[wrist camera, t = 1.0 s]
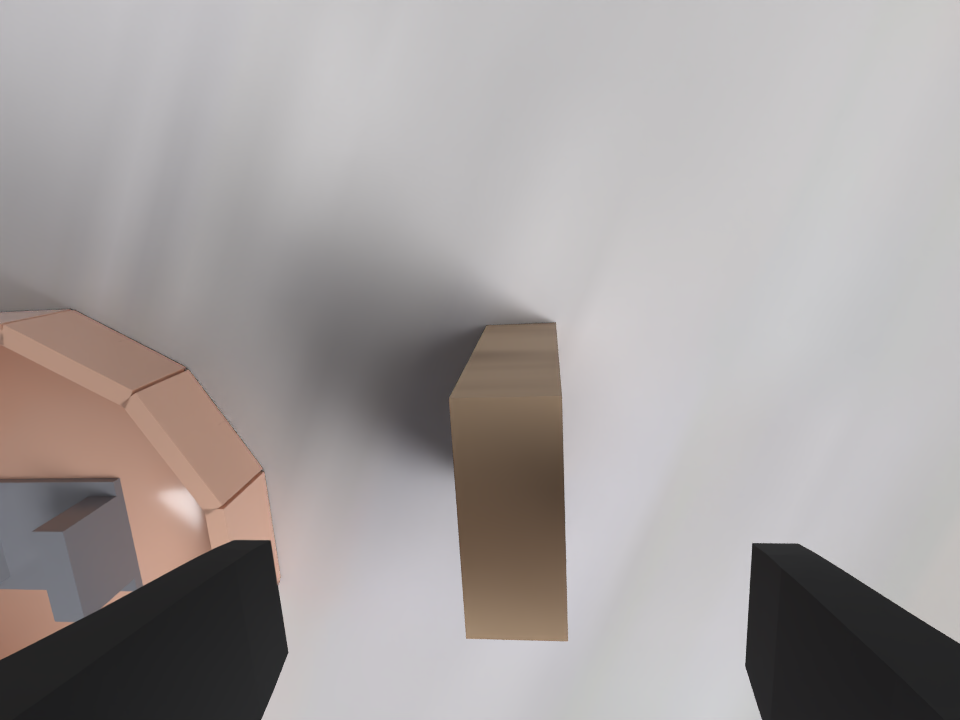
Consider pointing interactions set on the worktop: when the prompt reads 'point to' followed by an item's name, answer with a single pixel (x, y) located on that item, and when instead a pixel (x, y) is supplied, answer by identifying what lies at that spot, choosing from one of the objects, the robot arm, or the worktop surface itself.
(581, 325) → the worktop surface
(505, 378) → the tan rectangular block
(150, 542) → the candle dish
